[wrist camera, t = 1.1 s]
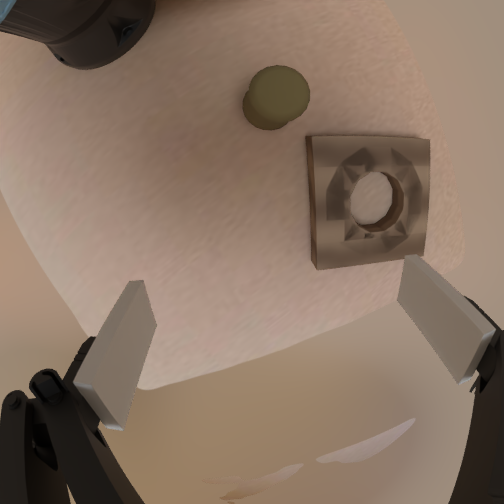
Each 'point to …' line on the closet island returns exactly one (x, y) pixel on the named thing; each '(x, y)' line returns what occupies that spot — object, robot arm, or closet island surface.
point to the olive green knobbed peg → (276, 97)
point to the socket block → (342, 185)
